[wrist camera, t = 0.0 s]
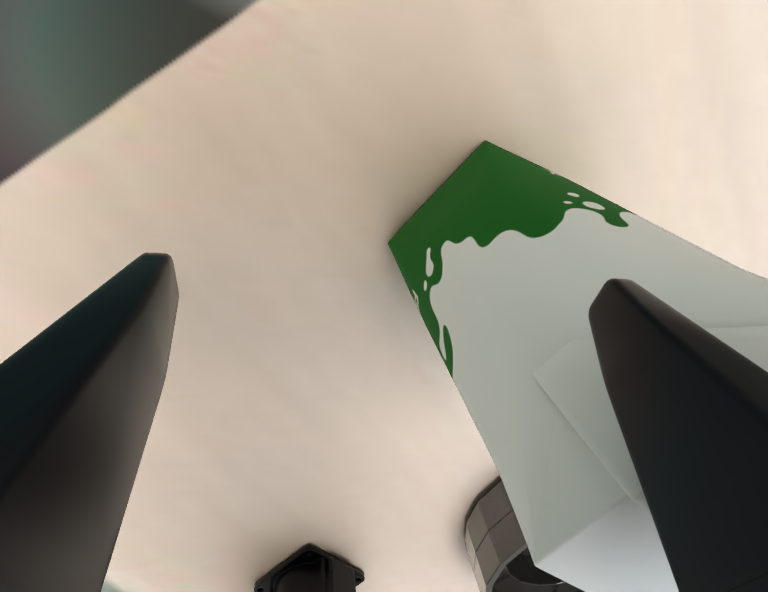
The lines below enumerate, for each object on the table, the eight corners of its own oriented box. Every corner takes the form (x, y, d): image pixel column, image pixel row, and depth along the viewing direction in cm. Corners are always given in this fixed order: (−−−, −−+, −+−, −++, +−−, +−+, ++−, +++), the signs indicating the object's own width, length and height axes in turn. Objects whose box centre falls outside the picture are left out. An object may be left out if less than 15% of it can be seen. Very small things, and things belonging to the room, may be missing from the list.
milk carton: (580, 222, 27) (1095, 551, 10) (465, 330, 29) (729, 754, 12) (486, 111, 23) (1074, 346, 6) (360, 245, 25) (536, 700, 8)
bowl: (525, 587, 44) (551, 654, 39) (428, 524, 38) (444, 595, 33) (658, 505, 41) (704, 567, 36) (574, 422, 35) (616, 484, 30)
